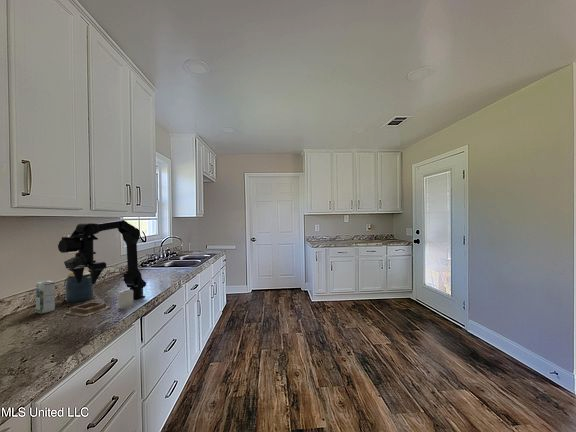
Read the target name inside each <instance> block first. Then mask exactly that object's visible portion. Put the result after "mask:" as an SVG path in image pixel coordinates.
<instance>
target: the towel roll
mask: <svg viewBox="0 0 576 432" xmlns="http://www.w3.org/2000/svg"><path fill="white" fill-rule="evenodd" d="M132 306H133V307H134V300H133V290H130V289H124V290H123V289H122V290H120V291H118V309H119V310H127V309H126V308H128V309H131V308H130V307H132ZM133 307H132V308H133Z"/></svg>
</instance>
